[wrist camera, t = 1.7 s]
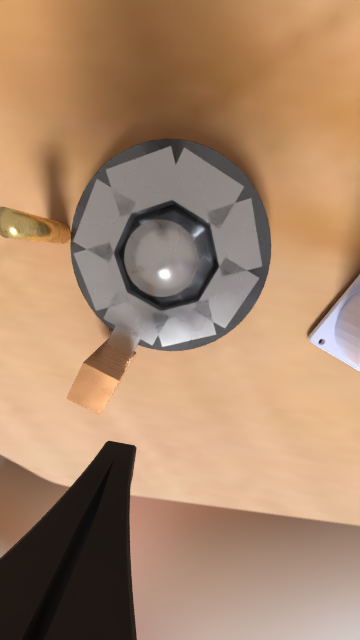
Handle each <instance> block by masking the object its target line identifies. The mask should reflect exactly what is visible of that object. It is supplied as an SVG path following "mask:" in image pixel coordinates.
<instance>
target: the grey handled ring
mask: <svg viewBox="0 0 360 640" xmlns="http://www.w3.org/2000/svg"><path fill="white" fill-rule="evenodd" d="M106 172H107V176H108V179H109V182H110V185H111V187H109V186H108V185H106V184H104V183H103V182H101V181H99V180H98V179H96V182H95V185H94V187H93V190H92V193H91V195H90V198H89V201H88V203H87V206H86V209H85V211H84V214H83V217H82V219H81V222H80V225H79V227H78V230H77V232H76V235H75V238H74V240H73V242H75V243H77V244H78V245H80V246H82V247H84V248H85V249H86V250H83V251H80V252H77V253H73V254H74V256H75V259H76V261H77V264H78V266H79V269H80V271H81V274H82V277H83V279H84V282H85V284H86V287H87V289H88V292H89V294H90V297H91V299H92V302H93V304H94V307H95V309H96V311H97V310H101V309H104V308H108V310H107V312H106V314H105V316H104V318H103V319H104V320H106V321H108V322H110V323H112V324H114V325H115V328H114V330H113V332H112V334H111V336H110V338H109V339H108V340H107V341H106V342H104V343H103V344H102V345H101V346H100V347H99V348H98V349H97V350H96V351H95V352H94V353H93V354H92V355H91V356H90V357H89V358H88V359H87V360H86V361H84V362H83V364H82V366H81V369H80V371H79V373H78V375H77V377H76V379H75V381H74V383H73V385H72V387H71V390H70V392H69V394H68V396H67V399H69V400H71V401H73V402H75V403H77V404H79V405H81V406H83V407H85V408H87V409H89V410H91V411H93V412H95V413H97V414H99V415H100V414H101V413H102V411H103V409H104V408H105V406H106V404H107V403H108V401H109V399H110V397H111V396H112V394H113V392H114V391H115V389H116V387H117V386H118V384H119V382H120V381H121V379H122V377H123V375H124V373H125V372H126V370H127V368H128V366H129V364H130V363H131V361H132V359H133V357H134V355H135V354H136V352H134V350H135V348H136V347H137V345H138V343H139V341H140V339H141V340H143V341H145V342H147V343H149V344H150V345H153V344H154V342H155V340H156V338H157V337H158V335H159V338H160V341H161V344H162V347H164V346H168V345H173V344H177V343H181V342H186V341H190V340H194V339H199V338H203V337H207V336H212V335H216V331H215V327H214V323H216V324H218V325H220V326H221V327H223V328H226V326H227V325H228V324H229V322H230V321H231V319H232V318H233V316H234V315H235V313H236V312H237V310H238V309H239V307H240V306H241V304H242V303H243V302H244V300H245V299H246V297H247V296H248V294H249V293H250V291H251V290H252V288H253V287H254V285H255V284H256V283H257V281H258V280H259V278H258V277H257V276H255V275H253V274H252V273H250V272H249V271H247V270H250V269H254V268H258V267H262V262H261V256H260V249H259V243H258V237H257V231H256V224H255V218H254V212H253V206H252V200H251V198H250V199H246V200H243V201H240V202H237V203H235V202H236V200H237V198H238V197H239V195H240V193H241V191H242V190H243V188H244V186H243V185H241V184H239V183H238V182H236V181H235V180H233V179H232V178H230V177H229V176H227V175H226V174H224V173H223V172H221V171H220V170H218V169H217V168H215V167H213V166H212V165H210V164H209V163H207V162H206V161H204V160H203V159H201V158H200V157H198V156H197V155H195V154H194V153H192V152H191V151H189V150H187V149H186V148H184V149H183V151H182V153H181V155H180V157H179V159H178V162H177V164H175V160H174V156H173V152H172V148H171V146H169V147H166V148H164V149H161V150H158V151H155V152H153V153H150V154H147V155H144V156H142V157H139V158H136V159H133V160H131V161H128V162H125V163H122V164H120V165H117V166H114V167H111V168H109V169H106ZM172 204H174V205H176V206H178V207H179V208H181V209H183V210H184V211H186V212H187V213H189V214H191V215H192V216H194V217H195V218H197V219H199V220H200V221H202V222H203V223H205V224H207V225H208V226H209V229H210V233H211V238H212V243H213V247H214V252H215V256H216V261H217V266H218V267H217V268H216V270H215V272H214V273H213V275H212V276H211V278H210V280H209V281H208V283H207V285H206V286H205V288H204V290H203V291H202V293H201V295H200V296H199V298H198V299H196V300H192V301H188V302H184V303H180V304H176V305H173V306H169V307H165V308H162V307H160V306H158V305H157V304H155V303H153V302H151V301H150V300H148V299H146V298H144V297H143V296H141V295H139V294H137V293H135V292H134V291H132V290H131V288H130V285H129V282H128V279H127V276H126V273H125V270H124V267H123V264H122V261H121V259H120V256H119V251H120V249H121V247H122V245H123V243H124V240H125V238H126V236H127V234H128V231H129V229H130V227H131V225H132V223H133V220H134V218H135V216H138V215H142V214H145V213H148V212H151V211H154V210H157V209H160V208H163V207H166V206H169V205H172ZM213 322H214V323H213Z"/></svg>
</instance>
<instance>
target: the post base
mask: <svg viewBox="0 0 360 640" xmlns="http://www.w3.org/2000/svg"><path fill="white" fill-rule="evenodd" d="M169 146H171V148H172V152H173V156H174V160H175V164H177V162H178V159H179V157H180V155H181V153H182V151H183V149H184V148H186V149H187V150H189V151H191V152H192V153H194V154H195V155H197V156H198V157H200V158H201V159H203V160H204V161H206V162H207V163H209V164H210V165H212V166H213V167H215V168H217V169H218V170H220V171H221V172H223V173H224V174H226V175H227V176H229V177H230V178H232V179H233V180H235V181H236V182H238V183H239V184H241V185H243V186H244V188H243V190H242V191H241V193H240V195H239V197H238V198H237V200H236V202H235V203H237V202H240V201H243V200H246V199H250V198H251V200H252V206H253V212H254V218H255V224H256V231H257V237H258V243H259V249H260V256H261V262H262V267H258V268H254V269H250V270H247V271H249V272H250V273H252V274H253V275H255V276H257V277H258V278H259V280H258V281H257V283H256V284H255V285H254V287H253V288H252V290H251V291H250V293H249V294H248V296H247V297H246V299H245V300H244V302H243V303H242V304H241V306H240V307H239V309H238V310H237V312H236V313H235V315H234V316H233V318H232V319H231V321H230V322H229V324H228V325H227V326H226V328H223V327H221V326H220V325H218V324H216V323H214V322H213V323H214V327H215V331H216V335H212V336H207V337H203V338H199V339H194V340H190V341H186V342H181V343H177V344H173V345H168V346H164V347H162V344H161V341H160V338H159V335H158V337H157V338H156V340H155V342H154V344H153V345H150V344H149V343H147V342H145V341H143V340H141V339H140V341H139V343H138V345H141V346H144V347H147V348H151V349H156V350H164V351H182V350H188V349H194V348H197V347H201V346H204V345H206V344H209V343H211V342H213V341H216V340H217V339H219V338H221V337H222V336H224V335H226V334H227V333H228V332H230V331H231V330H232V329H234V328H235V327H236V326H237V325H238V324H239V323H240V322H241V321H242V320H243V319H244V318H245V317H246V315H247V314H248V313H249V312H250V310H251V309H252V308H253V306H254V304H255V303H256V301H257V299H258V298H259V296H260V293H261V291H262V289H263V287H264V284H265V281H266V278H267V274H268V270H269V265H270V259H271V236H270V228H269V223H268V218H267V214H266V212H265V209H264V206H263V203H262V201H261V199H260V197H259V195H258V193H257V191H256V189H255V188H254V186H253V185H252V183H251V182H250V181H249V179H248V178H247V176H246V175H245V174H244V173H243V172H242V171H241V170H240V169H239V168H238V167H237V166H236V165H235V164H234V163H233V162H231V161H230V160H229V159H228V158H226V157H225V156H224V155H222V154H220V153H218V152H217V151H215V150H213V149H211V148H209V147H206V146H204V145H201V144H198V143H196V142H191V141H186V140H180V139H161V140H153V141H148V142H145V143H141V144H138V145H135V146H133V147H131V148H129V149H126V150H124V151H122V152H121V153H119V154H118V155H116V156H115V157H113V158H112V159H110V160H109V161H108V162H107V163H106V164H105V165H104V166H103V167H102V168H100V169H99V171H98V172H97V173H96V174H95V175H94V177H93V178H92V179H91V180H90V182H89V184H88V185H87V187H86V188H85V190H84V192H83V194H82V196H81V198H80V200H79V203H78V205H77V208H76V211H75V215H74V218H73V224H72V230H71V257H72V264H73V269H74V273H75V276H76V279H77V282H78V285H79V287H80V289H81V292H82V294H83V296H84V298H85V299H86V301H87V303H88V304H89V306H90V307H91V309H92V310H93V311H94V312H95V314H96V315H97V316H98V317H99V318H100V319H101V320H102V321H103V322H104V323H105V324H106V325H107V326H108V327H109V328H110V329H112V330H114V328H115V325H114V324H112V323H110V322H108V321H106V320H104V319H103V318H104V316H105V314H106V312H107V310H108V308H104V309H101V310H97V311H96V309H95V307H94V304H93V302H92V299H91V297H90V294H89V292H88V289H87V287H86V284H85V282H84V279H83V277H82V274H81V271H80V269H79V266H78V264H77V261H76V259H75V256H74V254H73V253H77V252H80V251H83V250H86V249H85V248H84V247H82V246H80V245H78V244H77V243H75V242H73V240H74V238H75V235H76V232H77V230H78V227H79V225H80V222H81V219H82V217H83V214H84V211H85V209H86V206H87V203H88V201H89V198H90V195H91V193H92V190H93V187H94V185H95V182H96V179H98V180H99V181H101V182H103V183H104V184H106V185H108V186H109V187H111V185H110V182H109V179H108V176H107V172H106V169H109V168H111V167H114V166H117V165H120V164H122V163H125V162H128V161H131V160H133V159H136V158H139V157H142V156H144V155H147V154H150V153H153V152H155V151H158V150H161V149H164V148H166V147H169ZM119 256H120V259H121V261H122V264H123V267H124V270H125V273H126V276H127V279H128V282H129V285H130V288H131V290H132V291H134V292H135V293H137V294H139V295H141V296H143V297H144V298H146V299H148V300H150V301H151V302H153V303H155V304H157V305H158V306H160V307H162V308H165V307H169V306H173V305H176V304H180V303H184V302H188V301H192V300H196V299H198V298H199V296H200V295H201V293H202V291H203V290H204V288H205V286H206V285H207V283H208V281H209V280H210V278H211V276H212V275H213V273H214V272H215V270H216V268H217V267H218V266H217V261H216V256H215V252H214V247H213V243H212V238H211V233H210V229H209V226H208V225H207V224H205V223H203V222H202V221H200V220H199V219H197V218H195V217H194V216H192V215H191V214H189V213H187V212H186V211H184V210H183V209H181V208H179V207H178V206H176V205H174V204H172V205H169V206H166V207H163V208H160V209H157V210H154V211H151V212H148V213H145V214H142V215H138V216H135V218H134V220H133V223H132V225H131V227H130V229H129V231H128V234H127V236H126V238H125V240H124V243H123V245H122V247H121V249H120V251H119Z"/></svg>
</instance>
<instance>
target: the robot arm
mask: <svg viewBox="0 0 360 640" xmlns="http://www.w3.org/2000/svg"><path fill="white" fill-rule="evenodd" d="M320 339H322V342H320V343H318V342H319V340H320ZM308 340H309V341H310V342H311V343H312V344H314V345H316V346H317V347H319V348H321V349H322V350H324V351H326V352H327V353H329V354H331V355H332V356H334V357H336V358H338V359H339V360H341V361H343V362H344V363H346V364H348V365H349V366H351V367H353V368H354V369H356V370H358V371H359V372H360V275H359V276H358V277H357V278H356V279H355V281H354V282H353V283H352V284H351V285H350V287H349V288H348V289H347V290H346V291H345V293H344V294H343V295H342V296H341V297H340V299H339V300H338V301H337V302H336V303H335V305H334V306H333V307H332V308H331V309H330V311H329V312H328V313H327V314H326V315H325V317H324V318H323V319H322V320H321V321H320V323H319V324H318V325H317V326H316V327H315V329H314V330H313V331H312V332H311V333H310V335H309V337H308ZM135 455H136V447H135V446H134V445H129V444H123V443H118V442H113V441H108V442H106V443H105V445H104V446H103V448H102V449H101V450H100V452H99V453H98V454H97V456H96V457H95V458H94V460H93V461H92V462H91V463H90V465H89V466H88V467H87V468H86V470H85V471H84V472H83V473H82V474H81V476H80V477H79V478H78V479H77V480H76V481H75V483H74V484H73V485H72V486H71V487H70V488H69V490H68V491H67V492H66V493H65V494H64V495H63V496H62V497H61V498H60V500H59V501H58V502H57V503H56V504H55V505H54V506H53V507H52V508H51V509H50V510H49V511H48V512H47V513H46V515H44V516H43V517H42V519H41V520H40V521H39V522H38V523H37V524H36V525H35V526H34V527H33V528H32V529H31V530H30V531H29V532H28V533H27V534H26V535H25V536H23V537H22V538H21V539H20V540H19V541H18V542H17V543H16V544H15V545H14V546H13V547H12V548H11V549H10V550H9V551H8V552H7V553H6V554H5V555H3V556H2V557H1V558H0V640H137V639H136V627H135V615H134V606H133V605H134V604H133V592H132V578H131V560H130V531H129V530H130V525H129V509H130V485H131V481H132V476H133V469H134V462H135Z"/></svg>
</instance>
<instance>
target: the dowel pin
mask: <svg viewBox="0 0 360 640" xmlns="http://www.w3.org/2000/svg"><path fill="white" fill-rule="evenodd" d="M0 235H1V236H3V237H5V238H12V239H21V240H30V241H39V242H48V243H58V244H65V243H67V242H68V241H69V239H70V230H69V228H68V227H67V226H66V225H65V224H64V223H62V222H58V221H54V220H51V219H47V218H43V217H40V216H36V215H32V214H29V213H25V212H21V211H18V210H14V209H10V208H7V207H0Z"/></svg>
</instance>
